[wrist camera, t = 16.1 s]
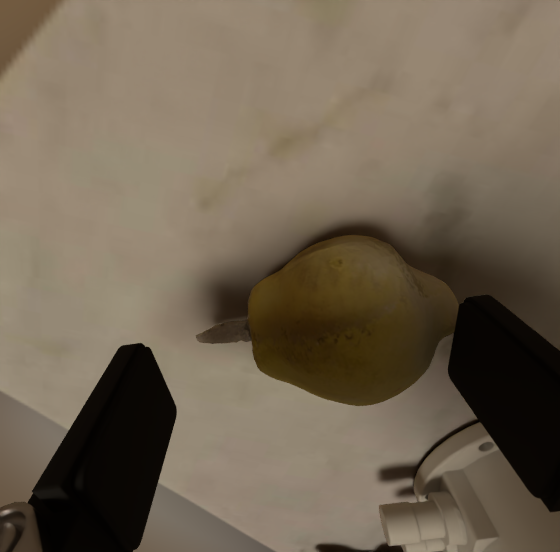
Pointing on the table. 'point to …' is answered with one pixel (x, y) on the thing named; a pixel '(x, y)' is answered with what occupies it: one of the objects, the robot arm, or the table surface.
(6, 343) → the table surface
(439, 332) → the fruit
